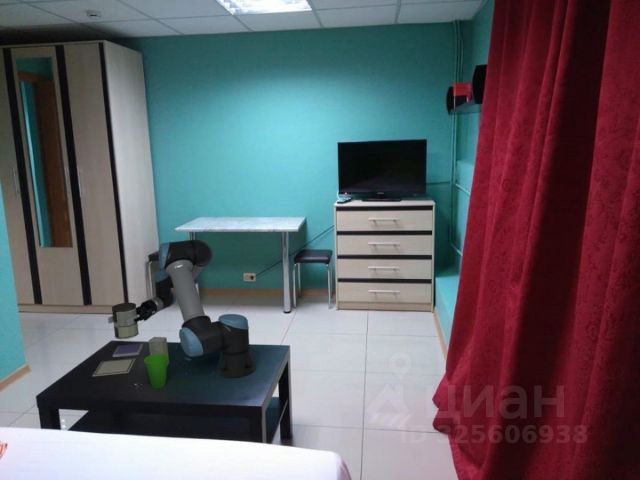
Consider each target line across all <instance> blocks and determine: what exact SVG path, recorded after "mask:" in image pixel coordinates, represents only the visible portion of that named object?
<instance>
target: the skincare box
mask: <svg viewBox="0 0 640 480" xmlns="http://www.w3.org/2000/svg"><path fill="white" fill-rule="evenodd" d="M148 344H149V346H148V347H149V356H150V355H153V354H167V355H168V356H169V350H168V341H167V337H166V336H164V337H163V336H154V337H151V339H148ZM169 364H170V357H169V358H168V361H167V366H168V365H169Z"/></svg>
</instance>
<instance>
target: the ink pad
mask: <svg viewBox="0 0 640 480" xmlns="http://www.w3.org/2000/svg"><path fill="white" fill-rule="evenodd" d="M143 346H144V343H133V344H124V345H123V344H122V345H118V346H117V348H116V349H115V350H114V352H113V354H112V358H116V357H117V358H119V357H128V356H137V355H138V356H139V355H140V353H141V351H142V349H143Z"/></svg>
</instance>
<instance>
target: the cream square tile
mask: <svg viewBox="0 0 640 480" xmlns="http://www.w3.org/2000/svg"><path fill="white" fill-rule="evenodd" d="M135 360H136V358H135V357H134V358H123V359H113V360H104V361H102V360H101V362H100V363H99V365H98V366H97V368H96V370H95V372H94V373H93V374H92V377H101V376H110V375H119V374H128V373H129V372H130V371H131V369H132V367H133V364H134V363H135Z"/></svg>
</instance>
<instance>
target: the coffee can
mask: <svg viewBox="0 0 640 480" xmlns="http://www.w3.org/2000/svg"><path fill="white" fill-rule="evenodd" d="M136 308H137V304H136V303H135V302H122V303H117V304H115V305H112V307H111V311H112V316H113V322H112V323H113V330H114V338H115V339H116V340H127V339H128V340H129V339H133V338H135V337H137V336H139V334H140V333H139V325H138V322H136V323H134V324H132V325H130V326H127V320H128V319H130V318H132V317H135V316H137V312H136Z"/></svg>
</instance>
